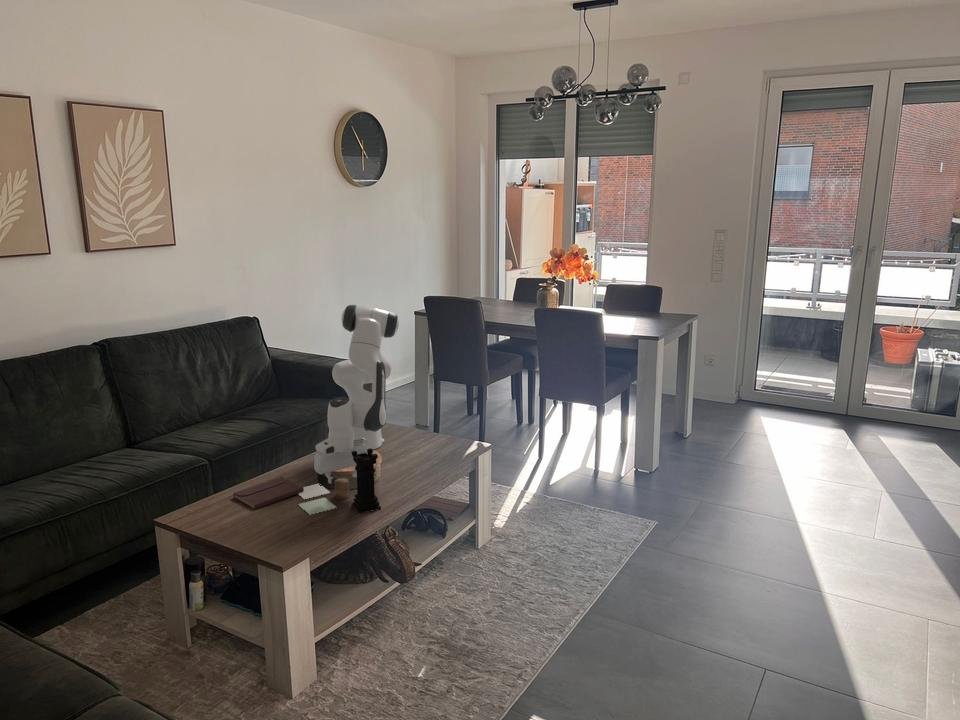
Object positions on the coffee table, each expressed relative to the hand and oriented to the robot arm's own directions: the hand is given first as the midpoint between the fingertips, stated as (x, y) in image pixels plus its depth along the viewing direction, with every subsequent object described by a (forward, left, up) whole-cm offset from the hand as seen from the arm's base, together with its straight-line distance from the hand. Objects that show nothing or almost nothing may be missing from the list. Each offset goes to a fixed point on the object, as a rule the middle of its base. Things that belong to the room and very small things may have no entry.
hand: (343, 479), depth 254 cm
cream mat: (-11, -8, -7) cm, 15 cm away
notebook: (-17, -21, -7) cm, 28 cm away
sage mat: (+2, -11, -7) cm, 13 cm away
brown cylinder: (-1, 0, -7) cm, 7 cm away
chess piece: (+12, +3, -7) cm, 14 cm away
